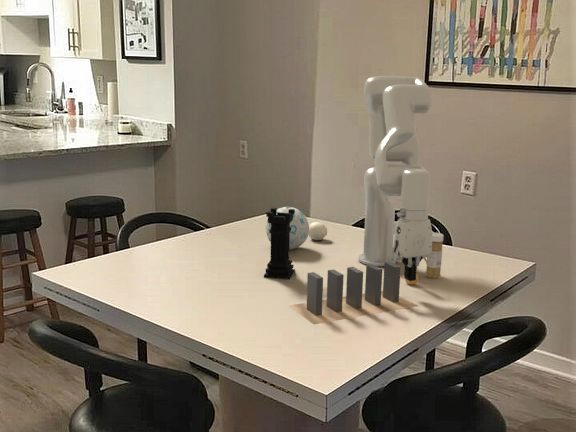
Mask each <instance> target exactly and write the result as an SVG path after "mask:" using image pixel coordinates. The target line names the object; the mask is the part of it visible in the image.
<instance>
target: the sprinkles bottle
mask: <svg viewBox="0 0 576 432" xmlns="http://www.w3.org/2000/svg"><path fill="white" fill-rule="evenodd" d="M443 243H444V234H443V233H440V232H432V250H431V253H430V254H429V255H428V257H426V260H427V263H426V271H425V272H426V273H425V276H427V277H428V278H432V279H437V278H440V277H441V270H442V269H441V267H442V261H443V260H442V258H443Z"/></svg>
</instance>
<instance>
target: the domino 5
mask: <svg viewBox="0 0 576 432" xmlns="http://www.w3.org/2000/svg"><path fill="white" fill-rule="evenodd" d="M401 268H402V267H401V266H400V265H398V264H397V263H396V264H394V263H392V262H385V263H384V266H383V280H382V284H383V285H382V291H383V297H384V298H385V299H387V300H389V301H391V302H393V303H395V302H399V296H400V286H401V285H400V284H401Z"/></svg>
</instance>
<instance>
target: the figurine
mask: <svg viewBox="0 0 576 432" xmlns="http://www.w3.org/2000/svg"><path fill="white" fill-rule="evenodd" d="M401 257H402V256H401ZM423 260H424V261H425V264H427V258H424V259H423ZM397 262H398V263H401V261H397ZM404 281H405V283H406V285H410V286H414V285H417V284H418V282H419V275H418V274H417V273H416V280H415V281H409V280H407V279H405V278H404Z"/></svg>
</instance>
